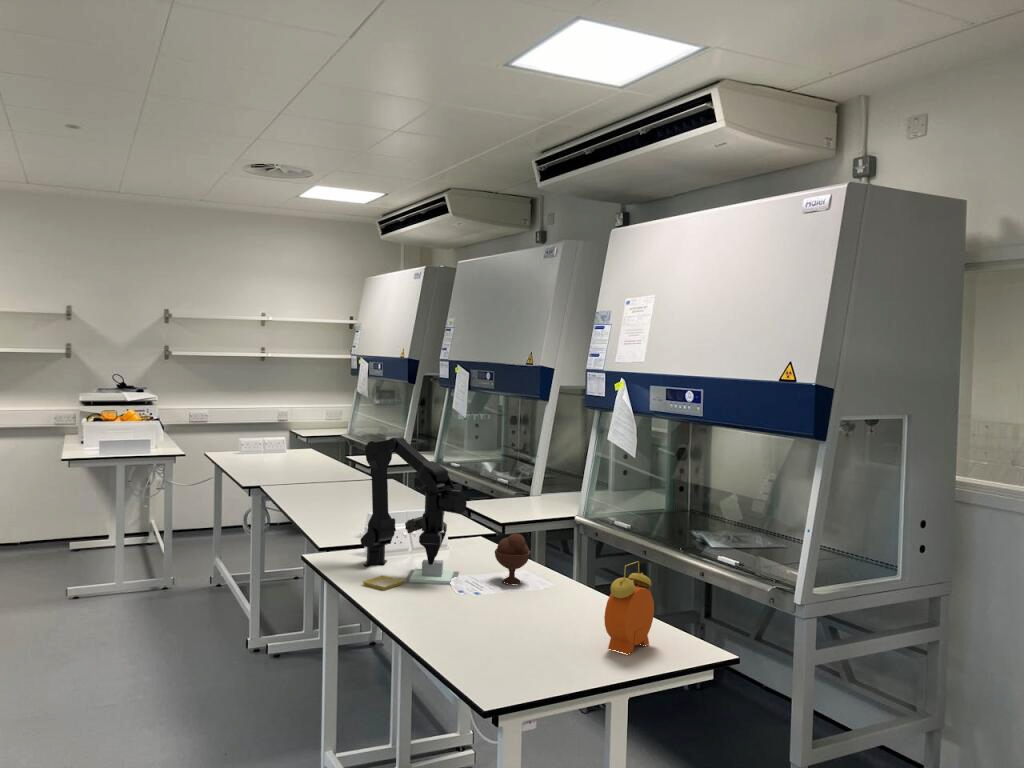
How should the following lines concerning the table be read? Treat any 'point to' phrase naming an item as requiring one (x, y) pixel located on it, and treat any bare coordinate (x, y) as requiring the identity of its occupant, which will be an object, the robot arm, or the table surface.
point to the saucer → (384, 578)
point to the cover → (432, 573)
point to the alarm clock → (629, 612)
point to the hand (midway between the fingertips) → (432, 560)
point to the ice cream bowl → (512, 555)
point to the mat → (426, 583)
